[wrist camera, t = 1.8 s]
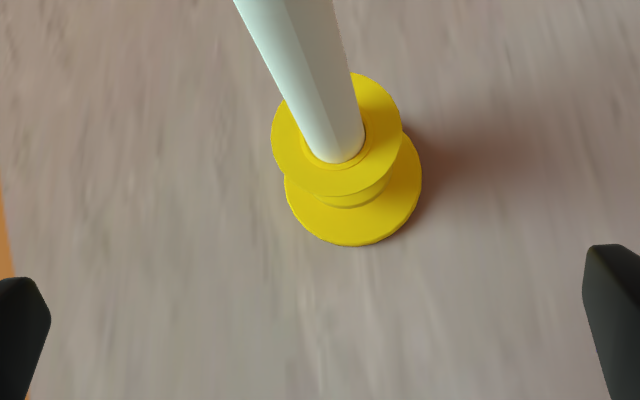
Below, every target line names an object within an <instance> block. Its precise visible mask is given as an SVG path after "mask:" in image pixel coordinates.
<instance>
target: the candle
mask: <svg viewBox="0 0 640 400" xmlns="http://www.w3.org/2000/svg"><path fill="white" fill-rule="evenodd" d="M233 1H234V3H235V5H236V7H237V9H238V11H239V13H240V15H241V17H242V19H243V20H244V22H245V24H246V26H247V28H248V30H249V32H250V34H251V36H252V38H253V40H254V42H255V44H256V45H257V47H258V49H259V51H260V53H261V55H262V57H263V59H264V61H265V63H266V65H267V67H268V69H269V70H270V72H271V74H272V76H273V78H274V80H275V82H276V84H277V86H278V88H279V90H280V92H281V94H282V95H283V97H284V100H283V101H282V103H281V104H280V106H279V107H278V109H277V112H276V114H275V117H274V120H273V122H272V131H271V144H272V150H273V155H274V157H275V159H276V161H277V164H278V166H279V168H280V170H281V171H282V172H283V173H284V174H285V177H284V186H285V192H286V198H287V201H288V203H289V205H290V207H291V209H292V212H293V214H294V216H295V217H296V218H297V219H298V220H299V221H300V223H301V224H302V225H303V226H304V227H305V228H306V229H307V230H308V231H309V232H311V233H312V234H314V235H315V236H317V237H318V238H320V239H321V240H323V241H326V242H329V243H332V244H335V245H338V246H352V247H359V246H364V245H369V244H373V243H376V242H378V241H380V240H382V239H385V238H387V237H389V236H391V235H392V234H393V233H394V232H396V231H397V230H398V229H399V228H400V227H401V226H402V225H404V224H405V223H406V221H407V220H408V218H409V217H410V215H411V214H412V212H413V211H414V209H415V208H416V205H417V202H418V199H419V196H420V193H421V183H422V168H421V164H420V160H419V155H418V152H417V151H416V149H415V147H414V145H413V143H412V142H411V140H410V138H409V137H408V136H407V135H406V134H405V133H404V132H403V131H402V124H401V119H400V115H399V110H398V108H397V106H396V105H395V103H394V101H393V99H392V97H391V96H390V95H389V94H388V93H387V92H386V91H385V90H384V89H383V88H382V87H381V86H380V85H379V84H378V83H376V82H375V81H373V80H371V79H369V78H368V77H366V76H363V75H359V74H356V73H352V72H350V71H349V67H348V63H347V59H346V55H345V51H344V47H343V43H342V39H341V35H340V31H339V27H338V23H337V19H336V15H335V11H334V7H333V3H332V0H233Z"/></svg>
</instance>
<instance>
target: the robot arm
mask: <svg viewBox="0 0 640 400" xmlns="http://www.w3.org/2000/svg"><path fill="white" fill-rule="evenodd" d="M582 299H583V304H584V307H585V311H586V315H587V318H588V322H589V325H590V329H591V332H592V336H593V339H594V343H595V346H596V350H597V353H598V357H599V360H600V364H601V367H602V371H603V374H604V378H605V381H606V385H607V388H608V391H609V394H610V397H611V400H640V256H639V255H637V254H635V253H634V252H632V251H631V250H629V249H627V248H626V247H624V246H622V245H619V244H605V245H593V246H591V247H590V248H589V250H588V252H587V256H586V263H585V270H584V277H583V284H582ZM50 325H51V314H50V311H49V309H48V307H47V305H46V303H45V301H44V299H43V297H42V295H41V293H40V291H39V289H38V287H37V286H36V284H35V282H34V281H33V280H32V279H30V278H28V277H14V278H6V279H3V280H1V281H0V400H25V397H26V394H27V392H28V389H29V386H30V383H31V380H32V377H33V374H34V372H35V369H36V366H37V363H38V360H39V357H40V355H41V352H42V349H43V346H44V343H45V340H46V337H47V335H48V332H49V329H50Z"/></svg>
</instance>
